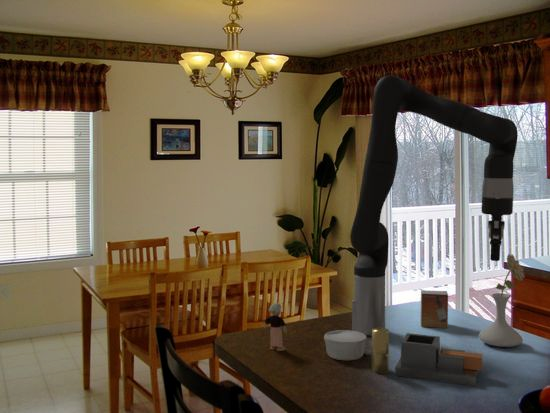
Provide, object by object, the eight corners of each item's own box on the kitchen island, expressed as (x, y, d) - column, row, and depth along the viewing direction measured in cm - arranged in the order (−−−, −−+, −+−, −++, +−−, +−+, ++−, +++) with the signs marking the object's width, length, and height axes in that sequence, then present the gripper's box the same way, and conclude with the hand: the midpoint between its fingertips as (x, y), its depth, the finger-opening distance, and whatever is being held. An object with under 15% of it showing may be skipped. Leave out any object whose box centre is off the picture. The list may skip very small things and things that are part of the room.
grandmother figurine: (291, 348, 154) (291, 302, 154) (285, 352, 151) (285, 305, 150) (266, 344, 158) (265, 300, 157) (260, 348, 154) (259, 303, 153)
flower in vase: (502, 353, 149) (504, 259, 147) (469, 341, 159) (470, 253, 157) (536, 345, 155) (538, 255, 153) (502, 335, 165) (503, 250, 163)
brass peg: (370, 372, 136) (370, 331, 135) (373, 366, 140) (374, 326, 139) (386, 374, 135) (386, 333, 134) (390, 368, 138) (390, 328, 138)
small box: (420, 327, 174) (421, 293, 173) (420, 322, 179) (420, 289, 179) (448, 328, 172) (448, 294, 171) (446, 323, 178) (446, 290, 177)
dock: (395, 375, 134) (395, 344, 133) (404, 359, 145) (404, 330, 144) (475, 386, 127) (476, 353, 126) (478, 368, 138) (479, 338, 137)
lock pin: (441, 365, 134) (441, 353, 134) (442, 361, 137) (442, 349, 136) (481, 370, 130) (481, 358, 130) (482, 366, 133) (482, 354, 133)
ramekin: (341, 345, 157) (341, 327, 156) (375, 355, 149) (375, 335, 148) (315, 355, 149) (315, 335, 148) (348, 365, 141) (348, 344, 141)
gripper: (482, 194, 154) (480, 253, 155) (481, 196, 140) (478, 261, 142) (512, 194, 151) (510, 254, 152) (514, 197, 138) (511, 263, 139)
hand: (495, 258), depth 147 cm, fingers open, 8 cm apart
